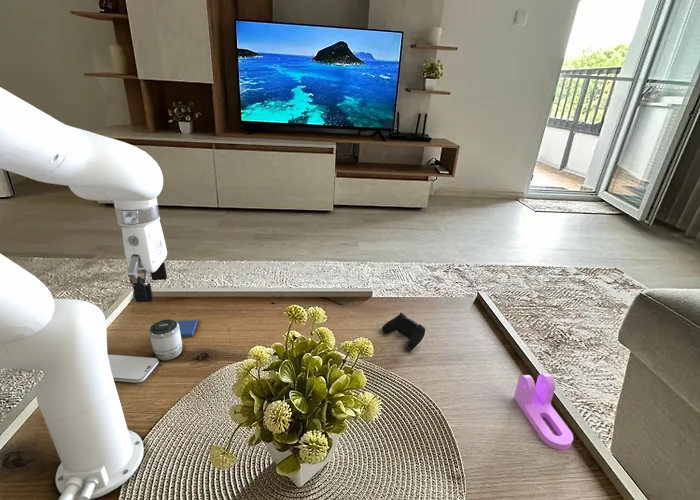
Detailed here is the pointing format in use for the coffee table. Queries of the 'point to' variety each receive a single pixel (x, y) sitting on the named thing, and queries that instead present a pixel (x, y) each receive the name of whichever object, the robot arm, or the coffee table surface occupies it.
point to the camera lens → (166, 339)
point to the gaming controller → (406, 330)
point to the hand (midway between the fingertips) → (152, 289)
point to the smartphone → (131, 367)
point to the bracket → (542, 410)
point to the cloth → (187, 327)
